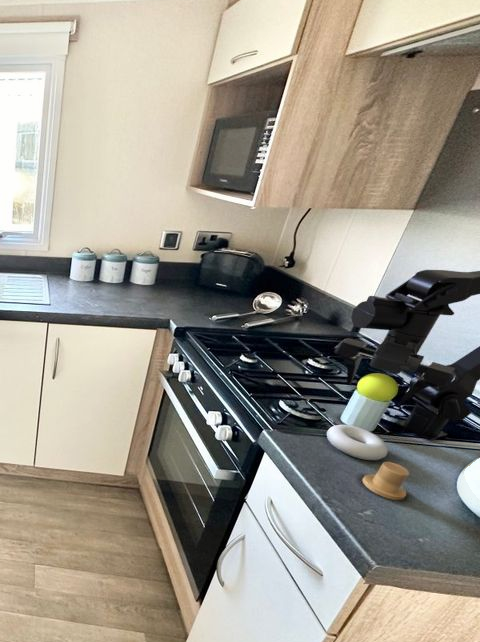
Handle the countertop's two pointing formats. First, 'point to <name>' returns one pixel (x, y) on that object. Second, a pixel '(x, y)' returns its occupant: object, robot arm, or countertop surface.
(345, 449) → the donut
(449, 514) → the countertop surface
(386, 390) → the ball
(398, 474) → the wooden egg stand
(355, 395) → the cup
